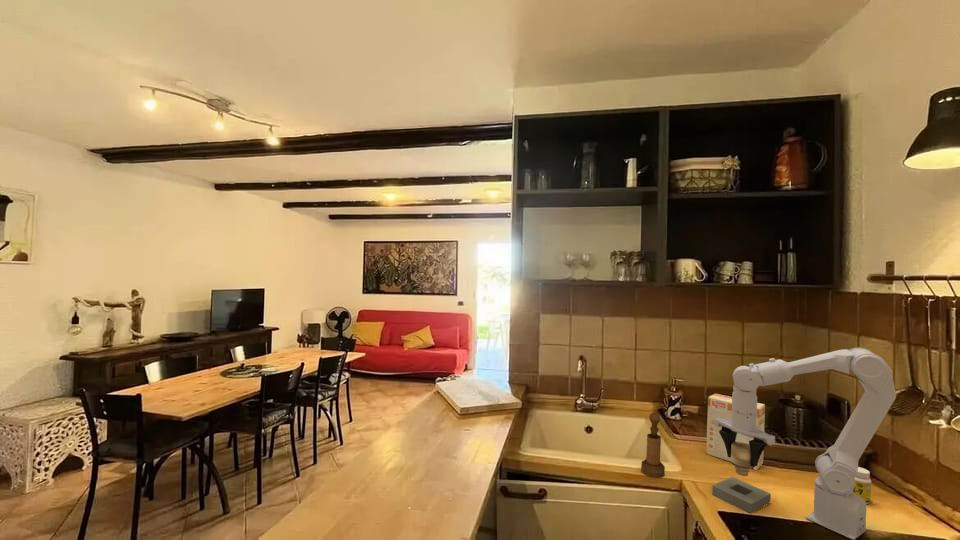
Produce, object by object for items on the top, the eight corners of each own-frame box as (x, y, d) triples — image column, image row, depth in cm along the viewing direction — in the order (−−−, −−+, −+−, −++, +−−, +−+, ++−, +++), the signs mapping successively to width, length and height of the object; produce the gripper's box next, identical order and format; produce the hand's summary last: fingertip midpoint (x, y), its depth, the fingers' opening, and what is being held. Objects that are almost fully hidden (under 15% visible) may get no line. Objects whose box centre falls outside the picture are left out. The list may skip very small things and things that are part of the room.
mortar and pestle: (650, 478, 123) (652, 418, 123) (636, 468, 129) (638, 410, 129) (669, 476, 125) (671, 416, 125) (654, 465, 131) (656, 409, 131)
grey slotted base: (770, 502, 112) (770, 493, 112) (750, 513, 107) (751, 503, 107) (732, 485, 120) (732, 476, 120) (712, 494, 115) (712, 485, 115)
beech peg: (757, 475, 113) (758, 448, 112) (747, 480, 110) (748, 452, 110) (736, 466, 117) (737, 440, 117) (726, 471, 114) (727, 444, 114)
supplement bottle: (842, 496, 116) (844, 466, 116) (853, 493, 118) (854, 464, 118) (863, 506, 112) (865, 475, 111) (874, 503, 113) (875, 472, 113)
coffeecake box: (763, 464, 134) (765, 404, 134) (757, 471, 129) (759, 408, 129) (713, 448, 145) (715, 392, 145) (705, 453, 141) (707, 396, 140)
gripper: (781, 417, 109) (779, 469, 109) (725, 401, 121) (723, 447, 122) (767, 422, 105) (765, 475, 106) (711, 404, 118) (709, 452, 118)
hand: (742, 460), depth 113 cm, fingers closed on beech peg, 5 cm apart
